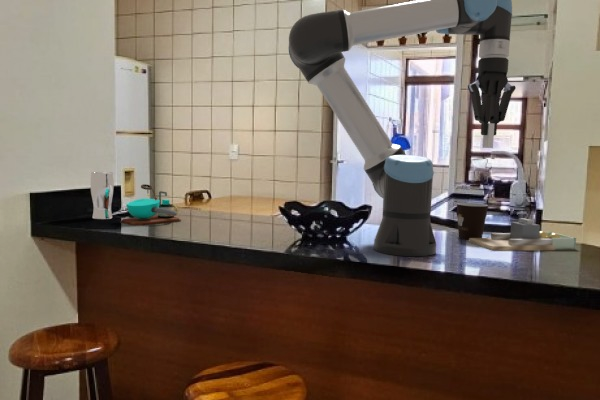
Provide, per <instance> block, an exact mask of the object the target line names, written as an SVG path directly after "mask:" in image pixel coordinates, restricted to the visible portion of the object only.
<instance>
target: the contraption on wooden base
mask: <svg viewBox="0 0 600 400" xmlns="http://www.w3.org/2000/svg"><path fill="white" fill-rule="evenodd" d="M140 188H141V189H143V190H147V192H146V193H147V197H148V198H138V199H135V200H132V201H130V202H127V203H126V205H125V206H126V208H127V211H128V213H129V215H130V216H132V217H130V218H129V217H126V218H122V219H121V220H120V221H119V223H120V224H124V225H128V226H129V225H130V226H140V227H141V226H150V225H151V226H153V225H162V224H174V223H182V219H180V217H178V213H179V209H178V206H177V205H176V204H171V203H170V202H171V201H170V199H162V194H164V196H165V197H166V196H168V193H167V191H163V190H160V191H159V192H158V197H156V193H155V191H154V189H153V185H150V184H141V185H140ZM149 190H151V191H152V192H153V195H154V197H153V198H149V197H150V194H149ZM157 213H158V214H157ZM156 214H157V215H156Z"/></svg>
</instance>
